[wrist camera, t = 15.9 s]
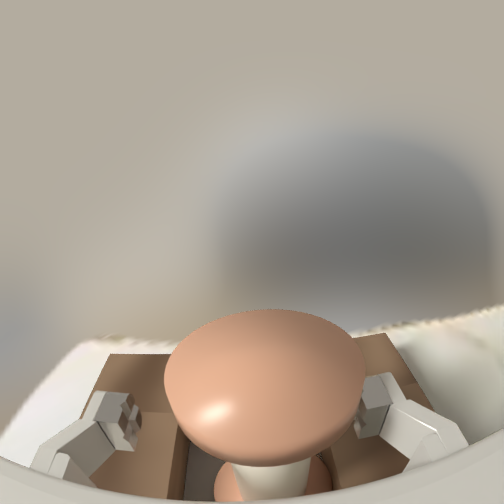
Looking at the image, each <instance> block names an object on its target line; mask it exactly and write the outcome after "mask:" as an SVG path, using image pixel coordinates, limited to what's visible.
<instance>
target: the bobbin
mask: <svg viewBox="0 0 504 504" xmlns="http://www.w3.org/2000/svg"><path fill="white" fill-rule="evenodd" d="M365 369H366V368H365V362H364V358H363V355H362V352H361V350H360V348H359V347H358V345H357V343H356V342H355V341H354V340H353V339H352V337H351V336H350V335H349V334H347V333H346V332H345V331H344V330H342V329H341V328H340V327H338V326H336V325H335V324H333V323H331V322H330V321H327V320H325V319H323V318H320V317H317V316H314V315H311V314H307V313H302V312H297V311H290V310H277V309H273V310H272V309H267V310H254V311H246V312H241V313H237V314H232V315H228V316H226V317H223V318H219V319H217V320H214V321H212V322H209V323H208V324H206V325H204V326H202V327H200V328H198V329H197V330H195V331H194V332H192V333H191V334H190V335H188V336H187V337H186V338H185V339H184V340H183V341H182V342H180V343H179V345H178V346H177V347H176V348H175V350H174V351H173V352H172V354H171V356H170V358H169V360H168V362H167V365H166V368H165V373H164V386H165V391H166V395H167V397H168V400H169V402H170V405H171V408H172V410H173V413H174V415H175V418H176V420H177V422H178V424H179V426H180V428H181V429H182V431H183V432H184V434H185V435H186V436H187V437H188V438H189V439H190V440H191V442H192V443H194V444H195V445H196V446H197V447H199V448H200V449H201V450H203V451H204V452H206V453H208V454H210V455H212V456H213V457H216V458H218V459H221V460H223V461H226V462H225V464H224V465H223V466H222V467H221V469H220V470H219V472H218V474H217V476H216V479H215V483H214V497H215V501H216V502H235V501H258V500H271V499H282V498H291V497H299V496H306V495H312V494H319V493H324V492H330V491H332V480H331V476H330V473H329V471H328V469H327V467H326V466H325V464H324V463H323V462H322V461H321V459H320V458H319V457H317V456H316V454H318V453H320V452H321V451H323V450H325V449H326V448H328V447H329V446H331V445H332V444H333V443H334V442H336V441H337V440H338V439H339V438H340V437H341V436H342V435H343V434H344V433H345V432H346V431H347V429H348V428H349V426H350V425H351V423H352V422H353V420H354V417H355V415H356V413H357V410H358V406H359V402H360V398H361V394H362V390H363V385H364V381H365Z"/></svg>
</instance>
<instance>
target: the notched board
mask: <svg viewBox="0 0 504 504" xmlns="http://www.w3.org/2000/svg"><path fill="white" fill-rule="evenodd" d="M352 339H353V340H354V341H355V342H356V343H357V345H358V347H359V348H360V350H361V352H362V355H363V358H364V362H365V368H366V369H365V377H367V376H372V375H377V374H382V373H386V372H390V373H392V375H393V377H394V378H395V380H396V382H397V384H398V385H399V387H400V389H401V391H402V393H403V394H404V396H405V398H406V400H412V401H414V402H416V403H418V404H420V405H422V406H423V407H425V408H427V409H429V410H431V411H433V412H435V411H434V409H433V407H432V406H431V404H430V402H429V401H428V399H427V397H426V396H425V394H424V393H423V391H422V389H421V388H420V386H419V384H418V383H417V381H416V380H415V378H414V376H413V375H412V373H411V372H410V370H409V368H408V367H407V365H406V364H405V362H404V361H403V359H402V358H401V356H400V354H399V353H398V351H397V350H396V348H395V347H394V345H393V344H392V342H391V341H390V339H389V338H388V336H387V335H386V333H381V334H375V335H370V336H364V337H358V338H352ZM170 356H171V354H110V355H109V357H108V359H107V361H106V363H105V365H104V367H103V369H102V371H101V373H100V375H99V377H98V380H97V382H96V384H95V386H94V388H93V390H92V392H91V394H90V396H89V399H88V401H87V403H86V405H85V407H84V409H83V412H82V414H81V416H80V418H79V419H82V418H83V416H84V413H85V411H86V409H87V407H88V405H89V402H90V400H91V398H92V396H93V394H94V392H96V391H106V392H118V393H128V394H132V395H133V397H134V399H135V403H134V405H136V406H137V407H138V408H139V409H140V412H141V415H142V425H141V429H140V431H138V432H137V433H136V436H137V437H138V441H137V444H136V448H135V451H124V450H115V451H114V452H113V453H112V455H111V456H110V457H109V458H108V459H107V460H106V461H105V462H104V463H103V464H102V465H101V466H100V467H99V468H98V469H97V470H96V471H95V472H94V473H93V474H92V475H91V476H90V477H89V479H90V480H91V481H92V482H93V483H94V484H95V485H96V486H97V488H99V489H103V490H108V491H113V492H118V493H124V494H130V495H137V496H144V497H151V498H160V499H171V500H183V497H184V487H185V478H186V468H187V459H188V451H189V442H190V439H189V438H188V437H187V436H186V435H185V434H184V432H183V431H182V429H181V428H180V426H179V424H178V422H177V420H176V418H175V415H174V413H173V410H172V408H171V405H170V402H169V400H168V397H167V395H166V391H165V386H164V373H165V368H166V365H167V362H168V360H169V358H170ZM354 423H355V420H353V422H352V423H351V425H350V426H349V428H348V429H347V431H346V432H345V433H344V434H343V435H342V436H341V437H340V438H339V439H338V440H337V441H336V442H334V443H333V444H332V445H331V446H329V447H328V448H326V449H325V450H323V451H321V456H322V460H323V463H324V464H325V466H326V467H327V469H328V471H329V473H330V476H331V480H332V491H335V490H340V489H345V488H349V487H354V486H358V485H362V484H366V483H370V482H373V481H377V480H381V479H384V478H387V477H391V476H394V475H397V474H400V473H402V472H403V471H404V469H405V467H406V466H407V464H408V462H409V461H410V459H409V458H407V457H406V456H405V455H403V454H402V453H401V452H400V451H398V450H397V449H396V448H394V447H393V446H392V445H391V444H389V443H388V442H387V441H385V440H384V439H383V438H382V437H380V436H379V435H375V436H371V437H366V438H361V439H358V437H357V434H356V431H355V428H354Z"/></svg>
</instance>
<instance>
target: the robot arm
mask: <svg viewBox="0 0 504 504" xmlns="http://www.w3.org/2000/svg"><path fill="white" fill-rule="evenodd" d="M134 403H135V399H134V397H133V395H132V394H128V393H118V392H106V391H96V392H94V394H93V396H92V398H91V400H90V402H89V405H88V407H87V409H86V411H85V413H84V416H83V418H82V419H78V420H77V421H75V422H74V423H72V424H71V425H69V426H68V427H66V428H65V429H64V430H62V431H61V432H59V433H58V434H56V435H55V436H53V437H52V438H50V439H49V440H48V441H46V442H45V443H43V444H42V445H40V446H39V448H38V450H37V452H36V455H35V457H34V459H33V461H32V463H31V465H30V468H28V467H25V466H22V465H20V464H17V463H15V462H12V461H10V460H8V459H5V458H3V457H1V456H0V504H504V428H502V429H500V430H499V431H497V432H495V433H493V434H491V435H490V436H488V437H486V438H484V439H482V440H480V441H478V442H476V443H474V444H472V445H470V446H469V444H468V442H467V441H466V439H465V437H464V436H463V434H462V432H461V431H460V429H459V427H458V426H457V424H456V423H454V422H452V421H450V420H449V419H447V418H445V417H443V416H441V415H439V414H437V413H435V412H433V411H431V410H429V409H427V408H425V407H423V406H422V405H420V404H418V403H416V402H414V401H412V400H406V398H405V396H404V394H403V393H402V391H401V389H400V387H399V385H398V384H397V382H396V380H395V378H394V377H393V375H392V373H390V372H386V373H382V374H377V375H372V376H367V377H365V381H364V385H363V390H362V394H361V398H360V402H359V406H358V410H357V413H356V415H355V417H354V420H355V423H354V428H355V431H356V434H357V437H358V439H361V438H366V437H371V436H375V435H379V436H380V437H382V438H383V439H384V440H385V441H387V442H388V443H389V444H391V445H392V446H393V447H394V448H396V449H397V450H398V451H400V452H401V453H402V454H403V455H405V456H406V457H407V458H409V459H410V461H409V462H408V464H407V466H406V467H405V469H404V471H403V472H402V473H400V474H397V475H394V476H391V477H387V478H384V479H381V480H377V481H373V482H370V483H366V484H362V485H358V486H354V487H349V488H345V489H340V490H335V491H330V492H324V493H319V494H312V495H306V496H299V497H291V498H282V499H271V500H258V501H235V502H207V501H184V500H171V499H160V498H151V497H144V496H137V495H130V494H124V493H118V492H113V491H108V490H103V489H99V488H97V486H96V485H95V484H94V483H93V482H92V481H91V480H90V479H89V477H90V476H91V475H92V474H93V473H94V472H95V471H96V470H97V469H98V468H99V467H100V466H101V465H102V464H103V463H104V462H105V461H106V460H107V459H108V458H109V457H110V456H111V455H112V453H113V452H114V451H115V450H124V451H135V448H136V444H137V441H138V437H137V436H136V433H137V432H138V431H140V429H141V425H142V415H141V412H140V409H139V408H138V407H137V406H136V405H134Z"/></svg>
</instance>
